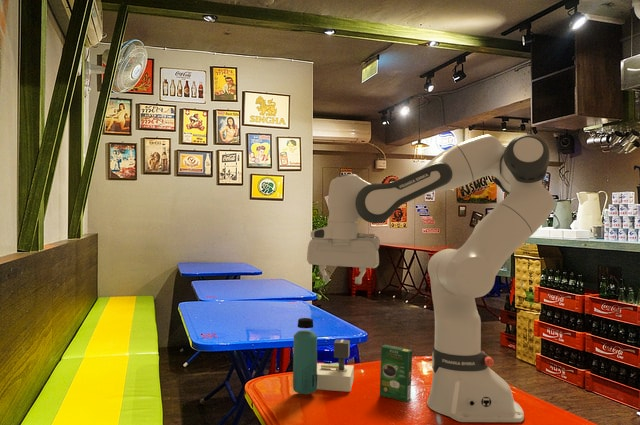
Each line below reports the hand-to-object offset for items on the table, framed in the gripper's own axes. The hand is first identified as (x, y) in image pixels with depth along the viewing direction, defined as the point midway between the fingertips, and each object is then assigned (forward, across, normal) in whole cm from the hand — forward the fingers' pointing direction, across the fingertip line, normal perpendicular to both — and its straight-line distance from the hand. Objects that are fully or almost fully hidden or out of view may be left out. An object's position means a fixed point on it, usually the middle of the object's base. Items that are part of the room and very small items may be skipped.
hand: (341, 282), depth 132 cm
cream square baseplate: (+29, +3, -1) cm, 29 cm away
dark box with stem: (+24, +2, -1) cm, 25 cm away
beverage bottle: (+29, +6, +10) cm, 31 cm away
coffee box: (+29, -16, +2) cm, 33 cm away
